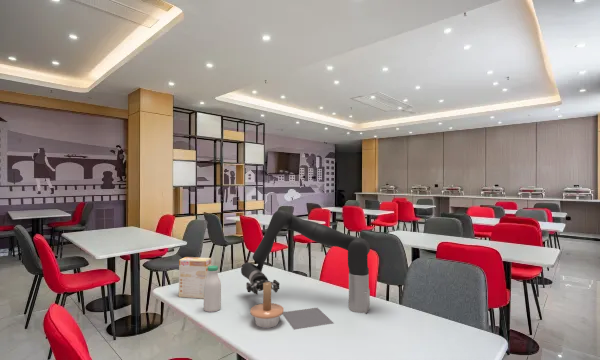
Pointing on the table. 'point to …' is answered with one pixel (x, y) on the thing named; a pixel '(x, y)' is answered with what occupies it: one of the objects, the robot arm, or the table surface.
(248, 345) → the table surface
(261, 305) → the lid
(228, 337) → the table surface
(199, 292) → the coffeecake box
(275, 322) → the ramekin
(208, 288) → the milk bottle
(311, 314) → the mat
